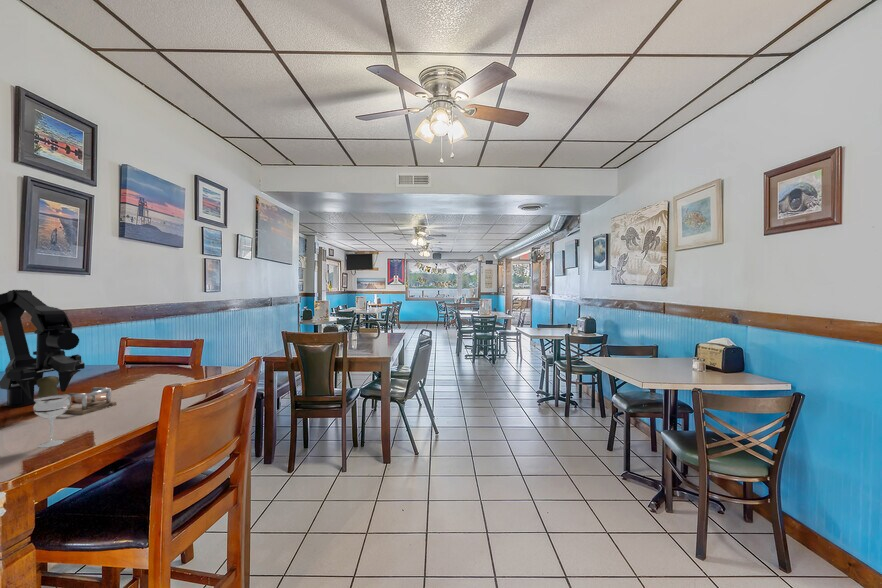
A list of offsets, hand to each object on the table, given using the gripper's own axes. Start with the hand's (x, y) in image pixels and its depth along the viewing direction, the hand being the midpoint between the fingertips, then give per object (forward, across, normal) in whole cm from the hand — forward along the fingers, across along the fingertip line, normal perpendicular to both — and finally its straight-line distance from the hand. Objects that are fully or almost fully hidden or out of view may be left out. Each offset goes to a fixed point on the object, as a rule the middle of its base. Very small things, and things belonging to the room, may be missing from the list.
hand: (47, 395), depth 128 cm
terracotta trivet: (+5, +14, -1) cm, 15 cm away
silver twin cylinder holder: (+5, +4, -11) cm, 13 cm away
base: (+5, +4, -11) cm, 13 cm away
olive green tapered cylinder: (+5, 0, 0) cm, 5 cm away
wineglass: (+5, -23, -32) cm, 40 cm away
